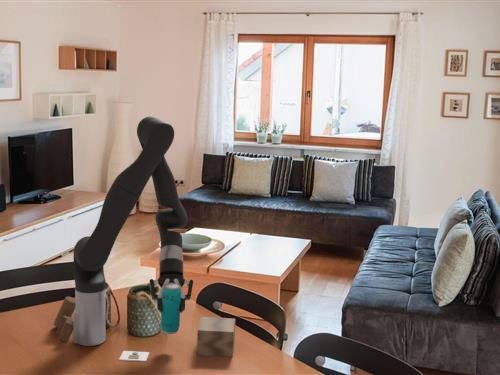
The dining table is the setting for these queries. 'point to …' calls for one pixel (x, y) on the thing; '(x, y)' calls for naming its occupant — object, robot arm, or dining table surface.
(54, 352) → the dining table surface
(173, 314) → the beverage can
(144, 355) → the tower plan card
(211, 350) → the walnut base brick
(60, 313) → the wooden block set
